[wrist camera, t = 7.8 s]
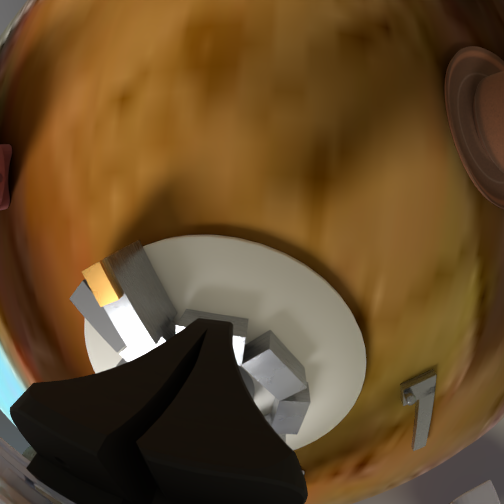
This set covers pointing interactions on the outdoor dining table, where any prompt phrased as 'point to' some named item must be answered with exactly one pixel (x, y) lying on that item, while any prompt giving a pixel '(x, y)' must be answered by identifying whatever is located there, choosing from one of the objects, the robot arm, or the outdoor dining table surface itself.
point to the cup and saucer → (478, 117)
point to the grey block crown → (163, 327)
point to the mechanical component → (4, 175)
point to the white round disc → (253, 318)
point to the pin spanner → (420, 404)
